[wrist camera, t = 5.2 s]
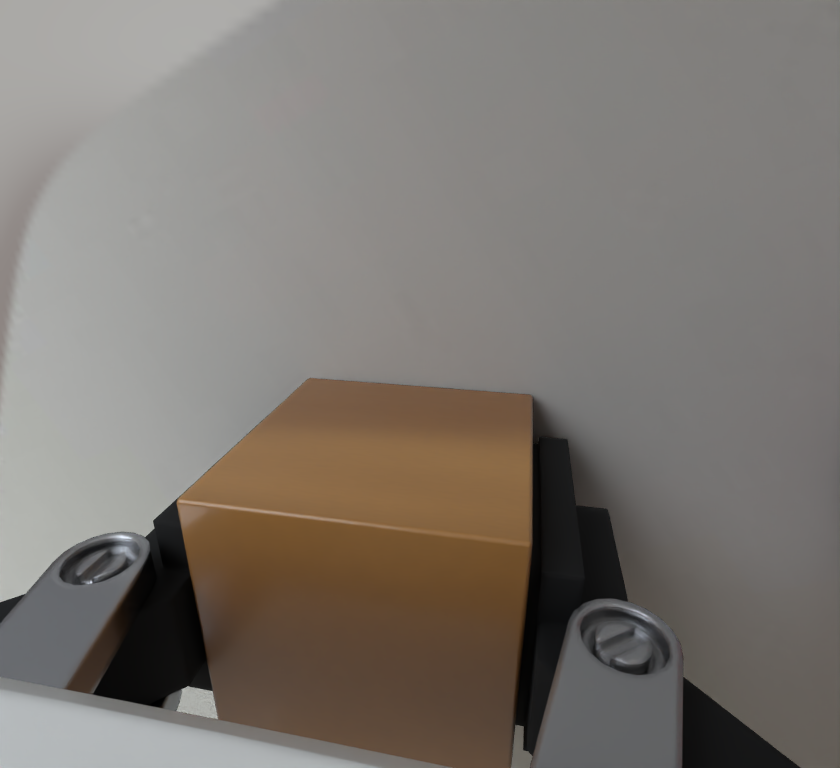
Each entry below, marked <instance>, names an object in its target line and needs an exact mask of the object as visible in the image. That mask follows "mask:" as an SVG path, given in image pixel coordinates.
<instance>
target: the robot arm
mask: <svg viewBox="0 0 840 768" xmlns="http://www.w3.org/2000/svg"><path fill="white" fill-rule="evenodd" d="M263 420H264V419H263ZM263 420H262V421H263ZM262 421H261V422H262ZM261 422H260V423H261ZM251 431H252V430H251ZM251 431H250V432H251ZM250 432H249V433H250ZM249 433H248V434H249ZM248 434H247V435H248ZM238 443H239V442H238ZM238 443H237V444H238ZM237 444H236V445H237ZM236 445H235V446H236ZM235 446H234V447H235ZM226 454H227V453H226ZM226 454H225V455H226ZM225 455H224V456H225ZM224 456H223V457H224ZM223 457H222V458H223ZM222 458H221V459H222ZM214 465H215V464H214ZM214 465H213V466H214ZM213 466H212V467H213ZM212 467H211V468H212ZM211 468H210V469H211ZM210 469H209V470H210ZM201 477H202V476H201ZM201 477H200V478H201ZM200 478H199V479H200ZM199 479H198V480H199ZM198 480H197V481H198ZM197 481H196V482H197ZM189 488H190V487H189ZM189 488H188V489H189ZM188 489H187V490H188ZM187 490H186V491H187ZM186 491H185V492H186ZM185 492H184V493H185ZM184 493H183V494H184ZM177 500H178V499H176V500H175V501H174V502H173V503H172V504H171V505H170V506H169V507H168V508H167V509H166V510H164V511H163V512H162V513H161V514H160V515H159V516H158V517H157V518H156V519H155V520H154V521H153V522H154V527H155V529H154V530H152V531H151V532H150V533H149V534H148V535H147V536H146V537H144V536H142V535H139V534H136V533H131V532H115V533H107V534H103V535H100V536H96V537H92V538H90V539H88V540H85V541H83V542H81V543H78V544H76V545H75V546H73V547H71V548H70V549H68V550H67V551H65V552H64V553H63V554H61V555H60V556H59V557H58V558H57V559H56V560H55V561H54V562H53V563H52V564H51V565H50V566H49V568H48V569H47V570H46V571H45V572H44V573H43V574H42V576H41V577H40V578H39V579H38V580H37V581H36V583H35V584H34V585H33V586H32V587H31V588H30V589H29V591H28V592H27V593H26V594H24V595H21V596H18V597H15V598H12V599H9V600H6V601H3V602H0V768H452V767H447V766H442V765H437V764H432V763H428V762H423V761H418V760H413V759H408V758H403V757H399V756H394V755H389V754H384V753H379V752H375V751H370V750H365V749H360V748H355V747H350V746H346V745H341V744H336V743H331V742H326V741H321V740H316V739H312V738H307V737H302V736H297V735H292V734H287V733H282V732H277V731H272V730H267V729H262V728H257V727H252V726H247V725H242V724H237V723H232V722H227V721H222V720H217V719H212V718H207V717H202V716H197V715H192V714H187V713H182V712H177V711H176V710H177V708H178V705H179V703H180V698H181V694H182V690H181V689H183V688H185V687H187V686H189V687H194V688H200V689H205V690H210V691H213V690H212V684H211V679H210V674H209V669H208V664H207V658H206V653H205V648H204V643H203V638H202V632H201V627H200V622H199V617H198V612H197V607H196V601H195V596H194V591H193V586H192V581H191V575H190V570H189V565H188V560H187V555H186V549H185V544H184V539H183V534H182V529H181V524H180V518H179V513H178V508H177ZM515 725H520V726H524V742H523V750H524V751H529V753H530V754H531V755H532V756H533V757H532V761H531V765H530V768H800V767H799V766H797V765H796V764H795V763H794V762H792V761H791V760H790V759H788V758H787V757H786V756H785V755H783V754H782V753H781V752H779V751H778V750H777V749H776V748H774V747H773V746H772V745H770V744H769V743H768V742H767V741H765V740H764V739H763V738H761V737H760V736H759V735H758V734H756V733H755V732H754V731H752V730H751V729H750V728H749V727H747V726H746V725H745V724H743V723H742V722H741V721H740V720H738V719H737V718H736V717H734V716H733V715H732V714H731V713H729V712H728V711H727V710H725V709H724V708H723V707H721V706H720V705H719V704H718V703H716V702H715V701H714V700H712V699H711V698H710V697H709V696H707V695H706V694H705V693H703V692H702V691H701V690H700V689H698V688H697V687H696V686H694V685H693V684H692V683H691V682H689V681H688V680H687V679H685V678H684V677H683V653H682V648H681V644H680V642H679V640H678V639H677V637H676V635H675V634H674V632H673V630H672V629H671V628H670V627H669V626H668V625H667V624H666V623H665V622H664V621H663V620H662V619H661V618H659V617H658V616H656V615H655V614H653V613H652V612H650V611H649V610H647V609H646V608H643V607H641V606H638V605H636V604H633V603H631V602H628V599H627V594H626V589H625V585H624V580H623V576H622V571H621V567H620V562H619V558H618V553H617V548H616V544H615V539H614V535H613V530H612V526H611V521H610V516H609V513H608V510H607V509H603V508H594V507H585V506H576V503H575V495H574V487H573V479H572V471H571V463H570V455H569V447H568V440H567V439H558V438H547V437H539V441H538V444H534V443H533V546H532V556H531V567H530V577H529V587H528V598H527V608H526V618H525V629H524V639H523V649H522V660H521V670H520V680H519V691H518V701H517V711H516V721H515Z"/></svg>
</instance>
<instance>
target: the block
mask: <svg viewBox="0 0 840 768" xmlns="http://www.w3.org/2000/svg"><path fill="white" fill-rule="evenodd" d="M177 508H178V513H179V518H180V524H181V529H182V534H183V539H184V544H185V549H186V555H187V560H188V565H189V570H190V575H191V581H192V586H193V591H194V596H195V601H196V607H197V612H198V617H199V622H200V627H201V632H202V638H203V643H204V648H205V653H206V658H207V664H208V669H209V674H210V679H211V684H212V690H213V695H214V700H215V705H216V710H217V716H218V720H222V721H227V722H232V723H237V724H242V725H247V726H252V727H257V728H262V729H267V730H272V731H277V732H282V733H287V734H292V735H297V736H302V737H307V738H312V739H316V740H321V741H326V742H331V743H336V744H341V745H346V746H350V747H355V748H360V749H365V750H370V751H375V752H379V753H384V754H389V755H394V756H399V757H403V758H408V759H413V760H418V761H423V762H428V763H432V764H437V765H442V766H447V767H452V768H511V763H512V752H513V742H514V732H515V721H516V711H517V701H518V691H519V680H520V670H521V660H522V649H523V639H524V629H525V618H526V608H527V598H528V587H529V577H530V567H531V556H532V546H533V397H532V395H527V394H513V393H500V392H487V391H474V390H460V389H447V388H434V387H420V386H407V385H394V384H381V383H367V382H354V381H341V380H327V379H314V378H309V379H307V380H306V381H305V382H304V383H303V384H302V385H301V386H300V387H299V388H297V389H296V390H295V391H294V392H293V393H292V394H291V395H290V396H289V397H288V398H287V399H286V400H284V401H283V402H282V403H281V404H280V405H279V406H278V407H277V408H276V409H275V410H274V411H273V412H271V413H270V414H269V415H268V416H267V417H266V418H265V419H264V420H263V421H262V422H261V423H259V424H258V425H257V426H256V427H255V428H254V429H253V430H252V431H251V432H250V433H249V434H248V435H246V436H245V437H244V438H243V439H242V440H241V441H240V442H239V443H238V444H237V445H236V446H235V447H233V448H232V449H231V450H230V451H229V452H228V453H227V454H226V455H225V456H224V457H223V458H222V459H220V460H219V461H218V462H217V463H216V464H215V465H214V466H213V467H212V468H211V469H210V470H208V471H207V472H206V473H205V474H204V475H203V476H202V477H201V478H200V479H199V480H198V481H197V482H195V483H194V484H193V485H192V486H191V487H190V488H189V489H188V490H187V491H186V492H185V493H184V494H182V495H181V496H180V497H179V498H178V500H177Z"/></svg>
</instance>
